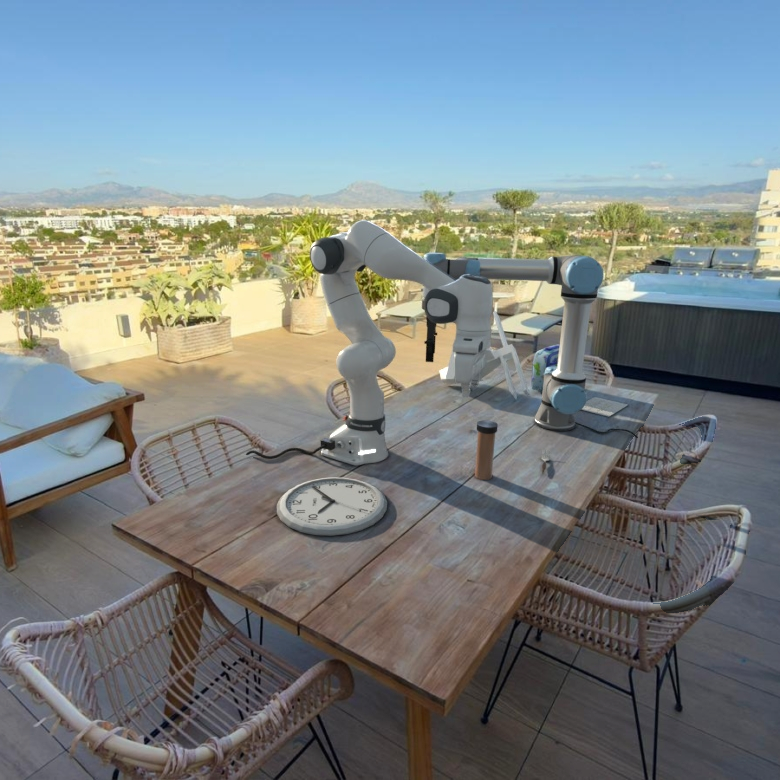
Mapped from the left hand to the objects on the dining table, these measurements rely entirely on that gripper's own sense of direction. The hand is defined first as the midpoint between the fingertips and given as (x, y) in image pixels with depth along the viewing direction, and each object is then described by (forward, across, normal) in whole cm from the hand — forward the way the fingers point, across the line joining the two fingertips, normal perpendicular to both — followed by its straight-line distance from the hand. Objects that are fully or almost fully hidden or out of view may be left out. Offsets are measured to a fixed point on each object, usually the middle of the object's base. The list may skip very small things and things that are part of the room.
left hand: (470, 391), depth 138 cm
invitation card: (+32, -103, +35) cm, 113 cm away
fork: (+32, -32, +18) cm, 49 cm away
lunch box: (+32, -121, +13) cm, 126 cm away
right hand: (+4, -47, -26) cm, 54 cm away
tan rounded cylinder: (+32, -17, +2) cm, 36 cm away
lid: (+15, -17, +2) cm, 23 cm away
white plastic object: (+32, -101, -18) cm, 108 cm away
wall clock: (+32, +18, -33) cm, 49 cm away
